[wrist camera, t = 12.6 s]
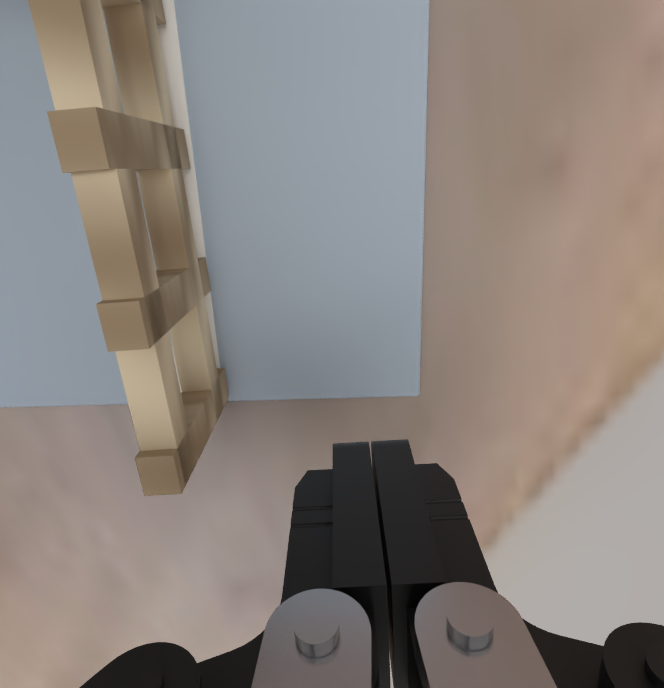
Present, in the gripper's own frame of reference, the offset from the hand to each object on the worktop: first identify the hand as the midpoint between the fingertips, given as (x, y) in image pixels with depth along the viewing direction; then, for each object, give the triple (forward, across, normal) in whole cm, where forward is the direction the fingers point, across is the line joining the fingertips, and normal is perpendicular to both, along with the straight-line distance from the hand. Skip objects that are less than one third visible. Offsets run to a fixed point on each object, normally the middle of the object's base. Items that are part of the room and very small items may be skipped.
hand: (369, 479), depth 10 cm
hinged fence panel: (+12, +6, -5) cm, 14 cm away
